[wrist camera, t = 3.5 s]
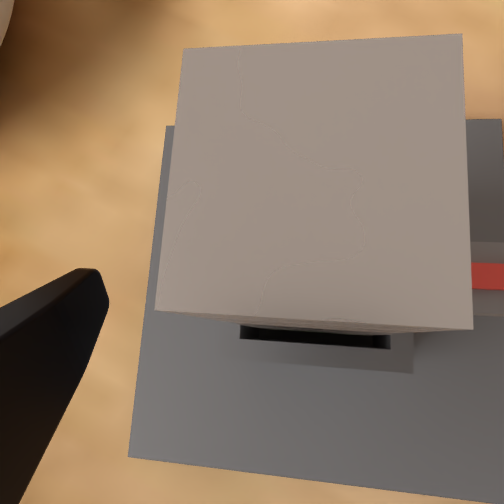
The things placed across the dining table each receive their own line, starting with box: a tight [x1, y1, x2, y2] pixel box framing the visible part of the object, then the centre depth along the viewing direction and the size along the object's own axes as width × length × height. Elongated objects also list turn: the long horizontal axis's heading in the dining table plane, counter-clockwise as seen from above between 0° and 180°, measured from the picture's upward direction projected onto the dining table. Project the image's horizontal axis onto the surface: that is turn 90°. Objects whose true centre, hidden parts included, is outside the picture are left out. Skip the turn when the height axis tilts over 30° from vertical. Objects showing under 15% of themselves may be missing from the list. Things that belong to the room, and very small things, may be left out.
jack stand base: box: [128, 119, 504, 504], centre depth 14 cm, size 14×14×5 cm
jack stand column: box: [154, 34, 473, 336], centre depth 10 cm, size 4×4×11 cm
